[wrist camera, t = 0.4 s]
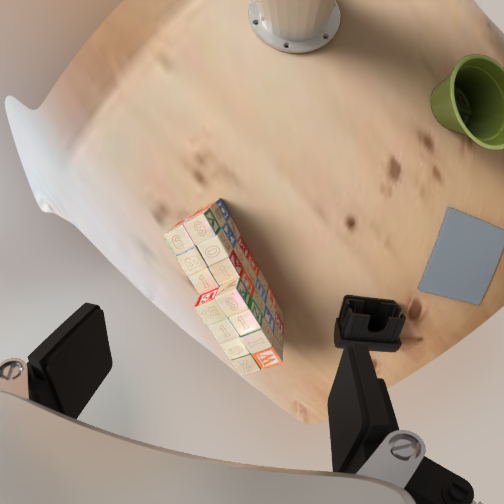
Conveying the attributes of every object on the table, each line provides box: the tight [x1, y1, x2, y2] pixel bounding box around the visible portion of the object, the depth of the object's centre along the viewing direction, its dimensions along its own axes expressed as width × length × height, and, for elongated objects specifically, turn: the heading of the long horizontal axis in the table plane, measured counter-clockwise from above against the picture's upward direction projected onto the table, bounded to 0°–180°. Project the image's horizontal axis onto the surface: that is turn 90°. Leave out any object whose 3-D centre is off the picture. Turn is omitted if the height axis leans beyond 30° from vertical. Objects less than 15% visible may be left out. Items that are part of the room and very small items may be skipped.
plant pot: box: [431, 54, 504, 150], centre depth 31 cm, size 12×12×11 cm
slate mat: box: [418, 207, 504, 305], centre depth 43 cm, size 14×14×1 cm
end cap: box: [334, 295, 406, 352], centre depth 46 cm, size 10×7×7 cm
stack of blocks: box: [164, 198, 284, 376], centre depth 43 cm, size 21×6×12 cm, turn 28°
